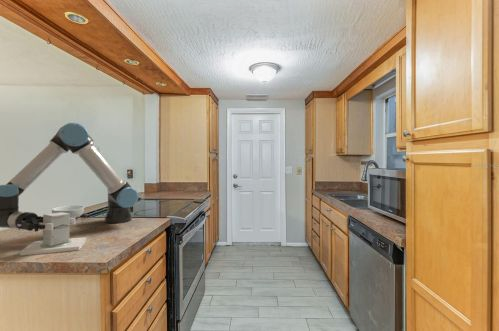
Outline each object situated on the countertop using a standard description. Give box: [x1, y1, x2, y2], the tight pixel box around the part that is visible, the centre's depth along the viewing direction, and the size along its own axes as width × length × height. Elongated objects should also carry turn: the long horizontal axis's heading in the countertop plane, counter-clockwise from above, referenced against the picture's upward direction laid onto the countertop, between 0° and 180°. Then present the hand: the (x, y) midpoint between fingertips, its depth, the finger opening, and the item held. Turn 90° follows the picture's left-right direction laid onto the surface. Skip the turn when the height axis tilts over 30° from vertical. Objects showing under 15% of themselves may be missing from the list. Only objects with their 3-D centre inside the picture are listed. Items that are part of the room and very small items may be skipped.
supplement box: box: [42, 212, 71, 246], centre depth 115 cm, size 7×7×13 cm
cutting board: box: [19, 236, 87, 256], centre depth 114 cm, size 20×14×2 cm
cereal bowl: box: [51, 205, 85, 218], centre depth 168 cm, size 17×17×7 cm
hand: (64, 224), depth 113 cm, fingers open, 10 cm apart
